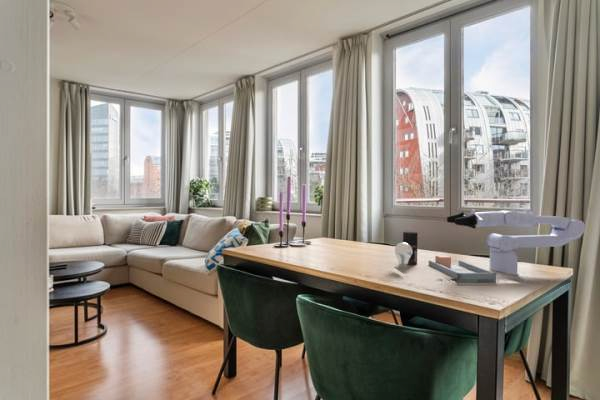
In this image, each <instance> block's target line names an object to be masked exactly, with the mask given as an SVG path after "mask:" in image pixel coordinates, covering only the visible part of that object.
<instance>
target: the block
mask: <svg viewBox="0 0 600 400" xmlns="http://www.w3.org/2000/svg"><path fill="white" fill-rule="evenodd" d="M434 260H435V261H434V262H436V263H438V264H440V265H443V266H445V267H447V268H451V265H452V257H451V256H449V255H437V254H436V255H435V259H434Z"/></svg>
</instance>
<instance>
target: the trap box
mask: <svg viewBox="0 0 600 400" xmlns="http://www.w3.org/2000/svg"><path fill="white" fill-rule="evenodd" d="M428 266H430V267H432V268H434V269H436V270H438V271H440V272H442V273H444V274H445V275H449V276H450V277H452V278H449V280H450V281H452V282H454V281H455V283H456V284H496V283H497V273H496V272H495V271H492V270H488V269H485V268H483V267H480V266H477V265H475V264H472V263H470V262H466V261H465V260H461V259H458V264H451V268H447V267H445V266H443V265H440V264H438V263H436V262H435V261H433V260H431V259H429V260H428ZM459 270H460V271H459ZM461 270H463V271H461ZM465 270H466V271H465ZM467 270H468V271H467Z"/></svg>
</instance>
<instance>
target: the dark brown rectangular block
mask: <svg viewBox="0 0 600 400" xmlns="http://www.w3.org/2000/svg"><path fill="white" fill-rule="evenodd" d="M402 233H403V234H402V242H406V243H408V244H409V245H410V246H411V248H412V255H411V257H410V258H409V261H408V264H407V266H417V265H418V238H419V237H418V236H419V235H418V232H417V231H402Z"/></svg>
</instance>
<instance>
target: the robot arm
mask: <svg viewBox="0 0 600 400" xmlns="http://www.w3.org/2000/svg"><path fill="white" fill-rule="evenodd" d="M470 211H471V212H469V213H468V214H465V212H464V211H460V212H458V213H456V214H453V215H449V216H446V222H447V223H453V224H454V225H457V226H463V227H469V228H471V229H474V230H475V229H476V228H477V227H478V228H479V227H495V226H496V227H497V226H512V227H515V226H517V227H532V226H534V225H535V224H537V225H538V224H540V225H550V226H551V228H552V229H551V232H550V234H529V235H505V234H504V235H503V234H499V233H496V232H494V233H491V234H489V235H488V236H487V238H486V243H487V246H488V247H489V271H493V272H502V273H506V274H508V275H510V276H519V273H518V262H519V261H518V259H519V258H518V255H517V253H516V252H515V251H512V250H517V249H518V248H545V247H546V248H549V247H563V246H565V245H567V244H569V242H572V241H574V240H576V239H579V238H581V237H582V235H583V234H584V232H585V230H586V225H585V222H584V221H582V220H581V219H573V218H570V217H565V216H558V215H557V216H556V215H554V216H553V215H536V214H534V212H532V211H530V210H523V211H517V210H516V209H513V210H502V209H501V210H500V211H498V210H497V211H496V210H495V211H477V212H476V209H471V210H470Z"/></svg>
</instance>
